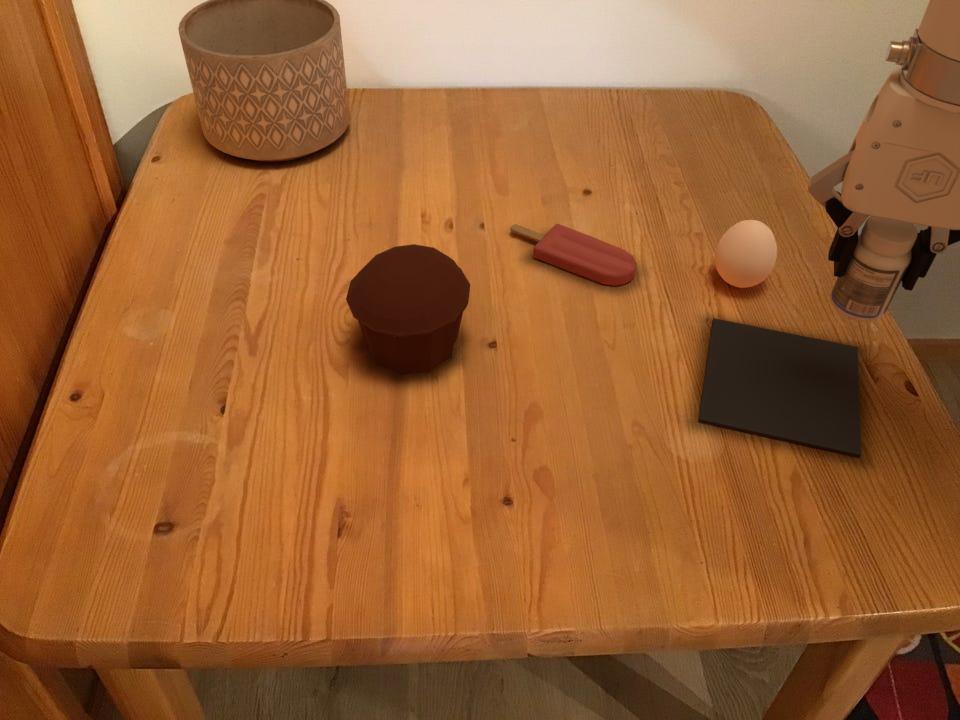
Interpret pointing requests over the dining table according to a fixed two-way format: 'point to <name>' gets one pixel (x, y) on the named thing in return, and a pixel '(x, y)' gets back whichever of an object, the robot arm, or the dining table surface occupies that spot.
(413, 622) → the dining table surface
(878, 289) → the pill bottle
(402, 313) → the muffin
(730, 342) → the slate mat
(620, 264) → the popsicle
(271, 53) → the planter
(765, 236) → the egg
